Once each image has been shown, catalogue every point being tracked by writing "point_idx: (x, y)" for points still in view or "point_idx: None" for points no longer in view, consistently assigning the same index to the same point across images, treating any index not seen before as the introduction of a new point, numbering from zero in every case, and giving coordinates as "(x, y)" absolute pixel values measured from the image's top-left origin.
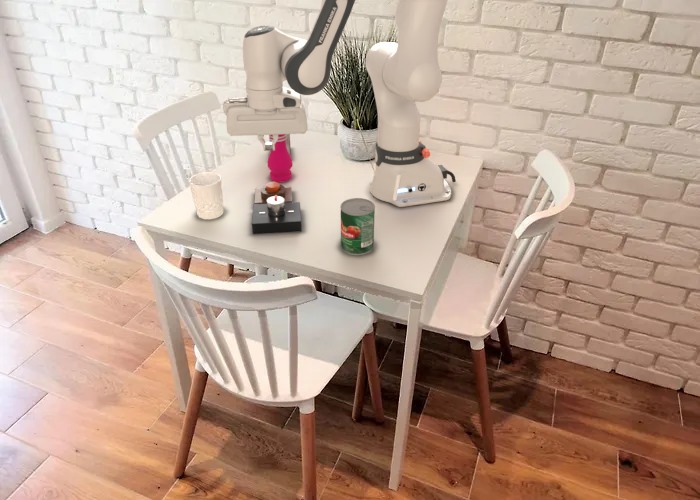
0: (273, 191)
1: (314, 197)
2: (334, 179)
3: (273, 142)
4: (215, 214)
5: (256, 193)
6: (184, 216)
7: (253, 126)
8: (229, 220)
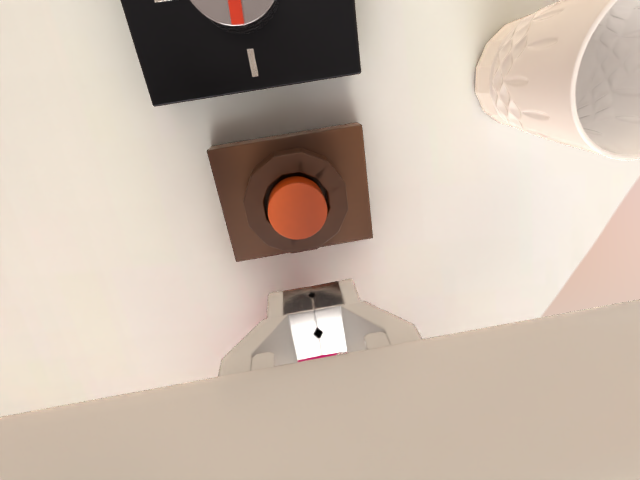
0: (288, 179)
1: (143, 226)
2: (107, 356)
3: (272, 326)
4: (509, 25)
5: (364, 204)
6: None
7: (533, 410)
8: (445, 14)
